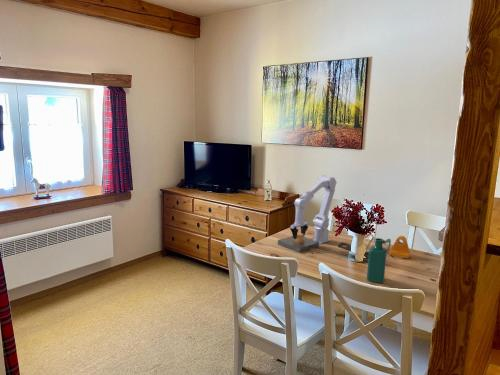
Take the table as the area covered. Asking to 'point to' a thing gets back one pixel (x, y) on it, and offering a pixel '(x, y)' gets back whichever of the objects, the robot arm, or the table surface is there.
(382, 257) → the pitcher
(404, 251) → the orange handbag
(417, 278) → the table surface
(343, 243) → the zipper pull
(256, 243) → the table surface
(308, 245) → the collar
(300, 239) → the tan square post
